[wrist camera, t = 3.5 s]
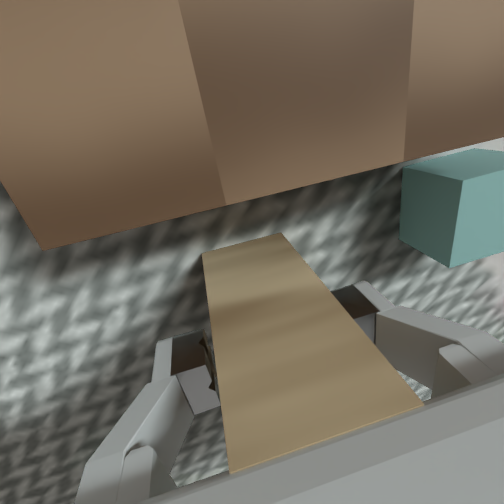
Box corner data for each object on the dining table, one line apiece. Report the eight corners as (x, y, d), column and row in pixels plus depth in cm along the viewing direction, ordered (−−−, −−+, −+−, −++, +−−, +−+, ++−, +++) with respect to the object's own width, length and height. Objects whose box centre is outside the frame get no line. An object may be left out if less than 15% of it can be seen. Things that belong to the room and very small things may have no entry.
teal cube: (460, 220, 14) (525, 244, 11) (397, 238, 13) (449, 267, 11) (471, 148, 12) (551, 156, 10) (401, 166, 12) (463, 180, 9)
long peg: (290, 296, 13) (408, 497, 6) (220, 317, 13) (264, 553, 6) (280, 232, 12) (423, 403, 5) (201, 253, 11) (228, 472, 4)
